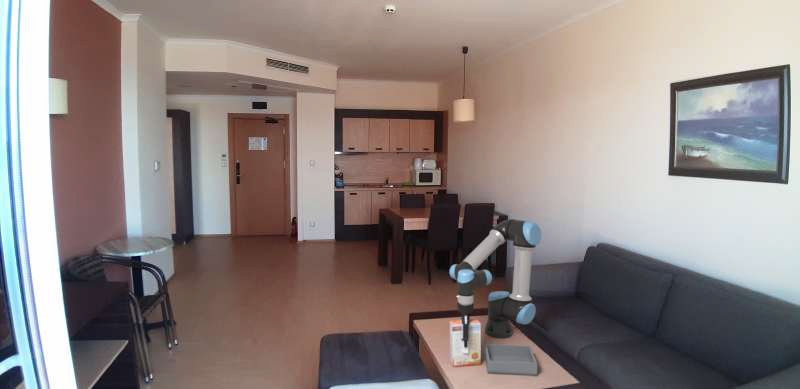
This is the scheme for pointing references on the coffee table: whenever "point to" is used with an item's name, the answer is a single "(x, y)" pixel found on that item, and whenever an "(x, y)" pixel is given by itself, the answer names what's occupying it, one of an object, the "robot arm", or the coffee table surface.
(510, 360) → the pantry crate
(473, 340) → the cracker box
